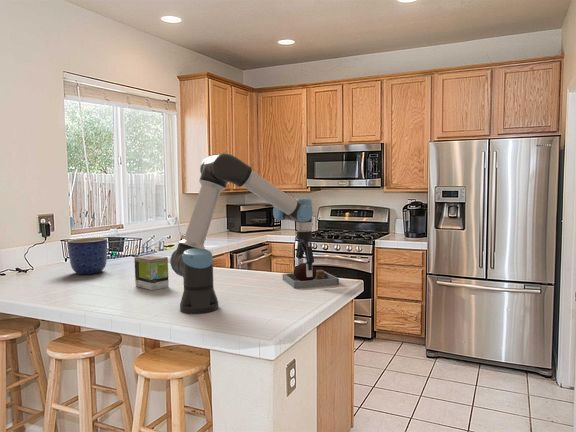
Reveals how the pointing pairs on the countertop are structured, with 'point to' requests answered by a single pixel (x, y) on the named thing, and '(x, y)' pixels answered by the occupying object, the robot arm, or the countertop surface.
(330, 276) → the tray
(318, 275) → the walnut block
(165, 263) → the tea box
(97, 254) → the planter
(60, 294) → the countertop surface
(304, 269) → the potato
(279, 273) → the countertop surface
